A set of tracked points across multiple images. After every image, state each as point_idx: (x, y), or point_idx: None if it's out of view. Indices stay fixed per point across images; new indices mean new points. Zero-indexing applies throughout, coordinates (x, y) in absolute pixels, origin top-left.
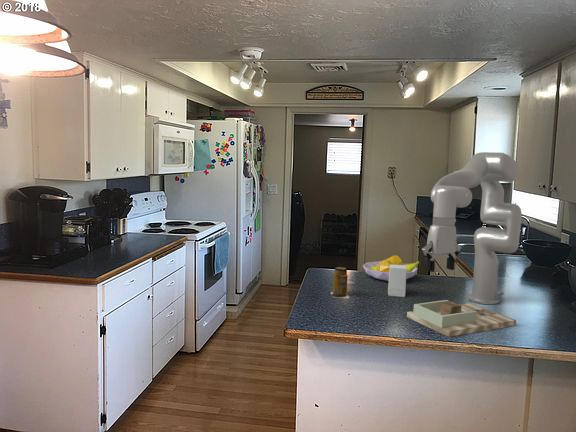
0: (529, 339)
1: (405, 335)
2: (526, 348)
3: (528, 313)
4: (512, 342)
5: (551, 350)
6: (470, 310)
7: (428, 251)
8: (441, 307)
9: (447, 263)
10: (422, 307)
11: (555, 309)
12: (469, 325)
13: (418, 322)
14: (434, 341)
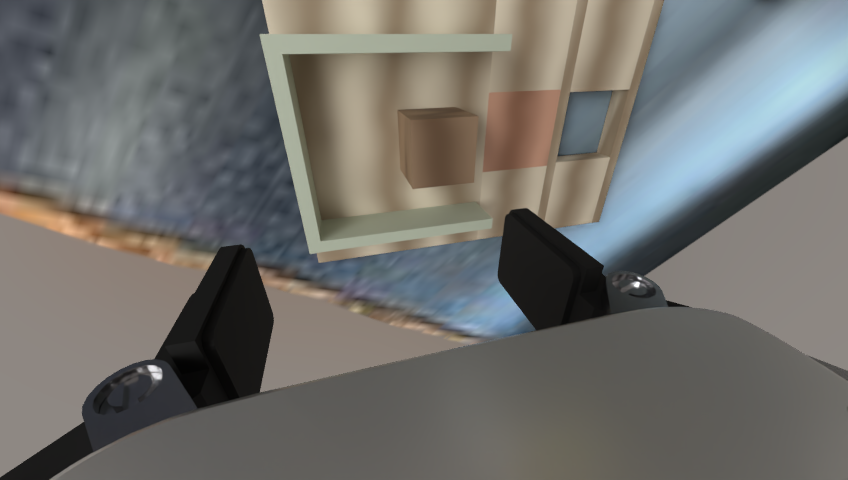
0: None
1: (144, 207)
2: (463, 337)
3: (724, 136)
4: (465, 307)
5: None
6: (572, 86)
7: (129, 456)
8: (406, 120)
9: (531, 246)
10: (284, 112)
11: (813, 130)
12: None
13: None
14: None
